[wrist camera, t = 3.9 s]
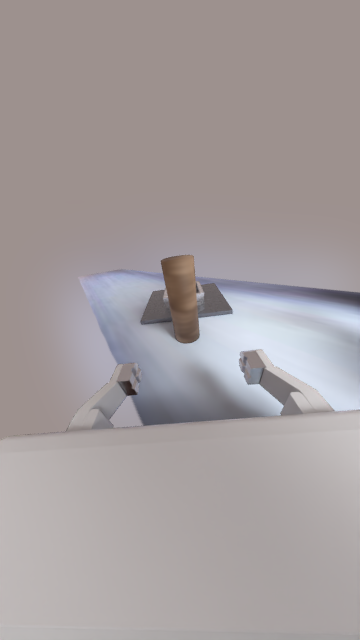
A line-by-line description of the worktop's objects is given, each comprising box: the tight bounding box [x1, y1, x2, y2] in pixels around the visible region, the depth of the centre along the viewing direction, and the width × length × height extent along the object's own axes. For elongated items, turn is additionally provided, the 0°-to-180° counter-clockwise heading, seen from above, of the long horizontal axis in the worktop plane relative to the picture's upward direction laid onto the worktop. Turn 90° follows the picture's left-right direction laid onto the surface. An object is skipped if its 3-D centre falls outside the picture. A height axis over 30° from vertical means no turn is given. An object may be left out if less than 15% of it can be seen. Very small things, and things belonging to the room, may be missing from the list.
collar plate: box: [141, 281, 232, 324], centre depth 33 cm, size 18×16×3 cm
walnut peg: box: [161, 255, 199, 343], centre depth 20 cm, size 4×4×12 cm
